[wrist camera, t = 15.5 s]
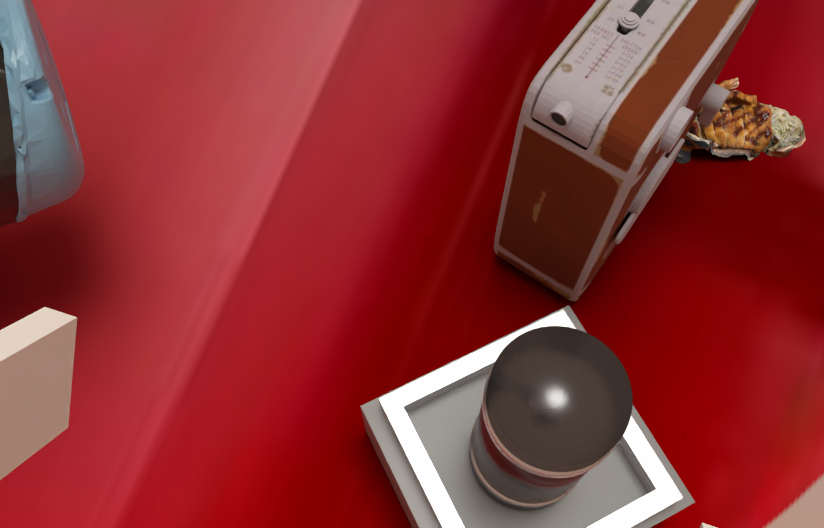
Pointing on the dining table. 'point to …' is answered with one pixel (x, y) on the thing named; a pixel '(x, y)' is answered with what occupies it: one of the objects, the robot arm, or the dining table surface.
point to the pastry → (744, 129)
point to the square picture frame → (477, 365)
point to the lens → (548, 416)
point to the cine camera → (609, 130)
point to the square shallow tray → (480, 514)
